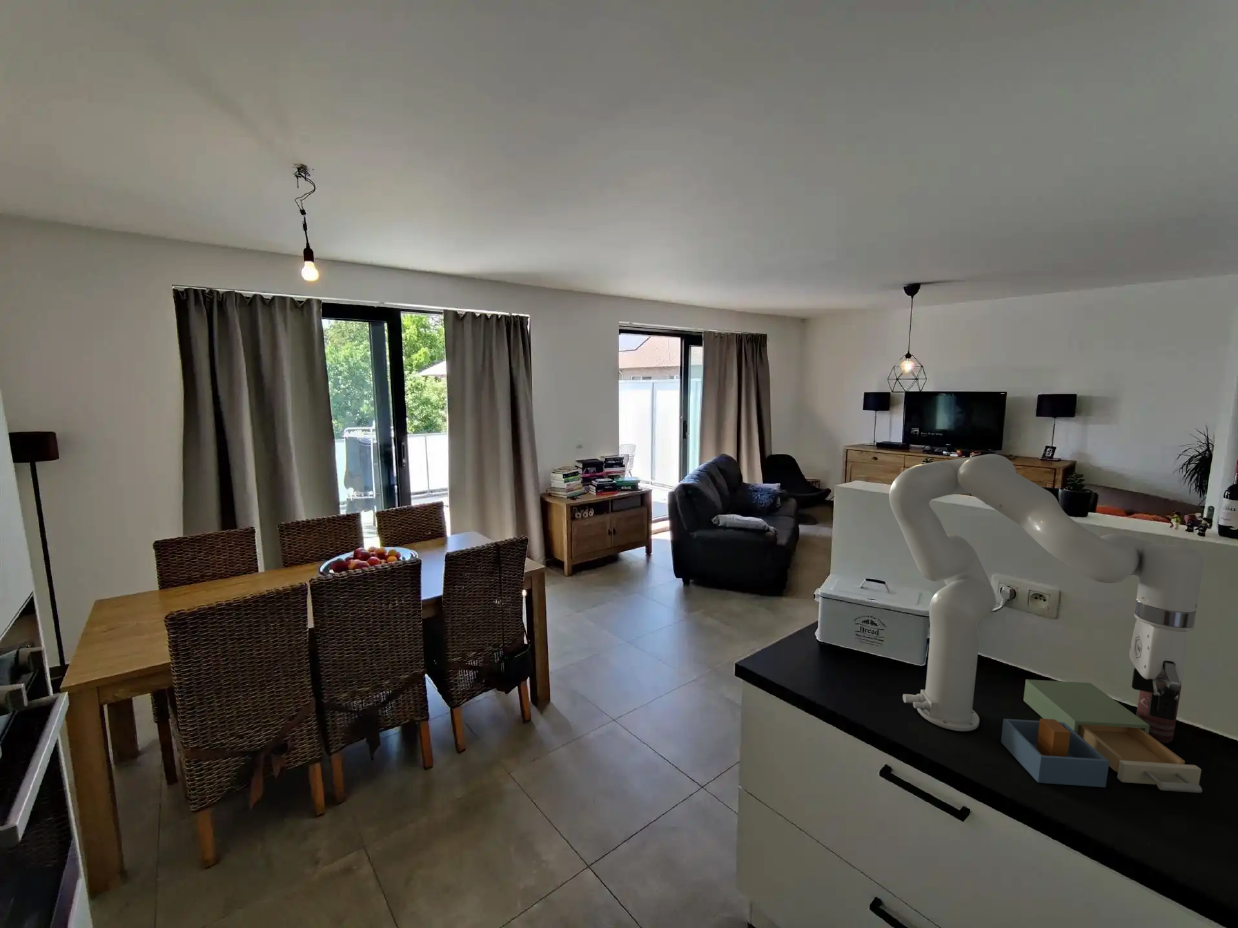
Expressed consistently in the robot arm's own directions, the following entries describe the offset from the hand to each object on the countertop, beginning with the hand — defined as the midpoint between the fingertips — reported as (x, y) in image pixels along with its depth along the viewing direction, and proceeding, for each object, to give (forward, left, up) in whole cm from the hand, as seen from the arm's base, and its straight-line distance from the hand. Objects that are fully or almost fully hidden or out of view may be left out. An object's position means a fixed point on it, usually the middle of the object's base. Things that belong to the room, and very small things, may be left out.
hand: (1151, 703), depth 98 cm
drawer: (+6, +9, -18) cm, 21 cm away
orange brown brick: (-10, +9, -19) cm, 23 cm away
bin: (-10, +9, -19) cm, 23 cm away
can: (+19, +21, -20) cm, 34 cm away
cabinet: (+6, +24, -19) cm, 31 cm away
